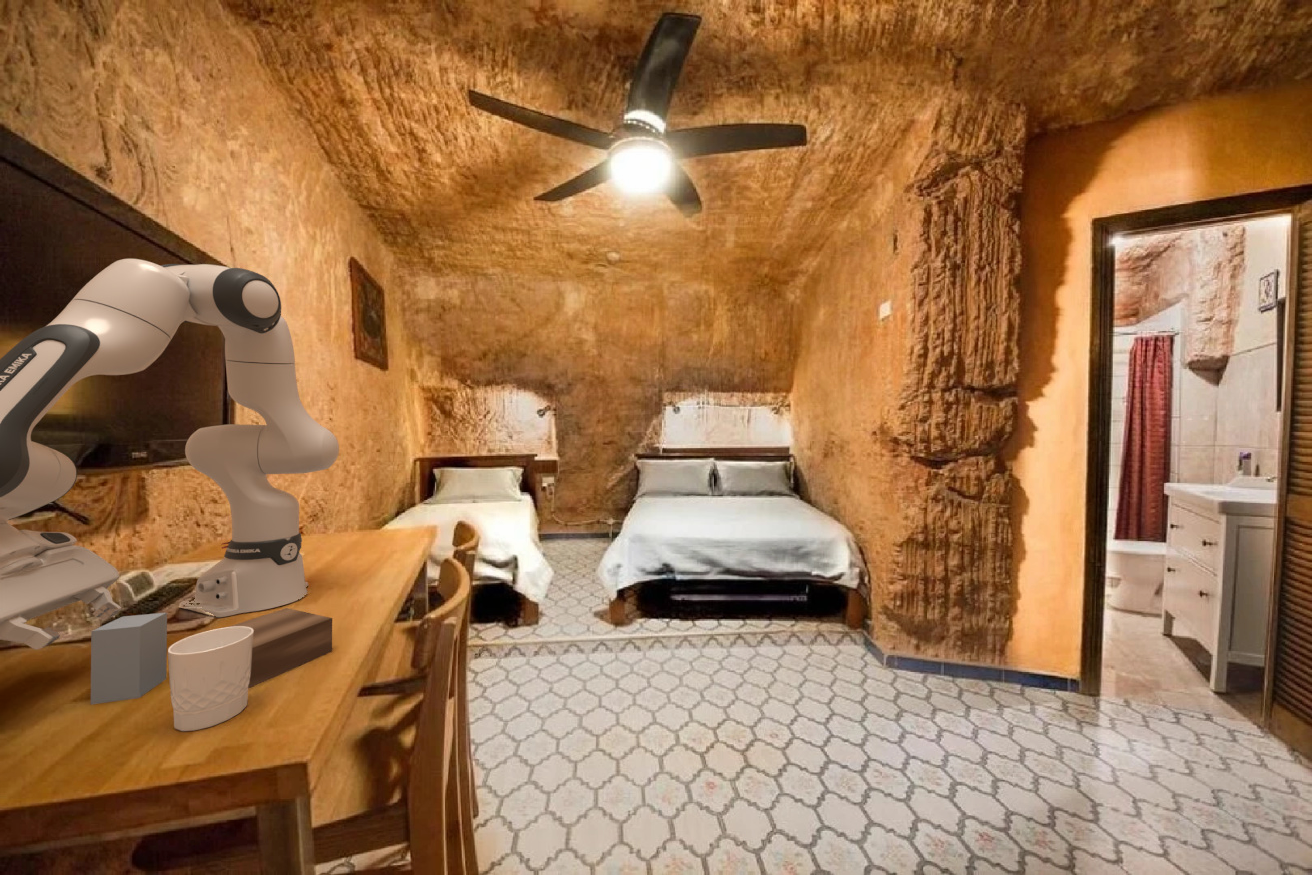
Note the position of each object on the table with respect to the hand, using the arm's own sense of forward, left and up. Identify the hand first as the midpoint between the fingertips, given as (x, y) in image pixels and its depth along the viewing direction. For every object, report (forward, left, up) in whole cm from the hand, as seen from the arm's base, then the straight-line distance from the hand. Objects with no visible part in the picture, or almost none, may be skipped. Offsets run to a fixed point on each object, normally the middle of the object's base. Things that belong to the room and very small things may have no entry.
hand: (84, 627), depth 61 cm
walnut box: (+15, +12, -10) cm, 22 cm away
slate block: (+4, +2, -10) cm, 11 cm away
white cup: (+22, 0, -10) cm, 24 cm away
